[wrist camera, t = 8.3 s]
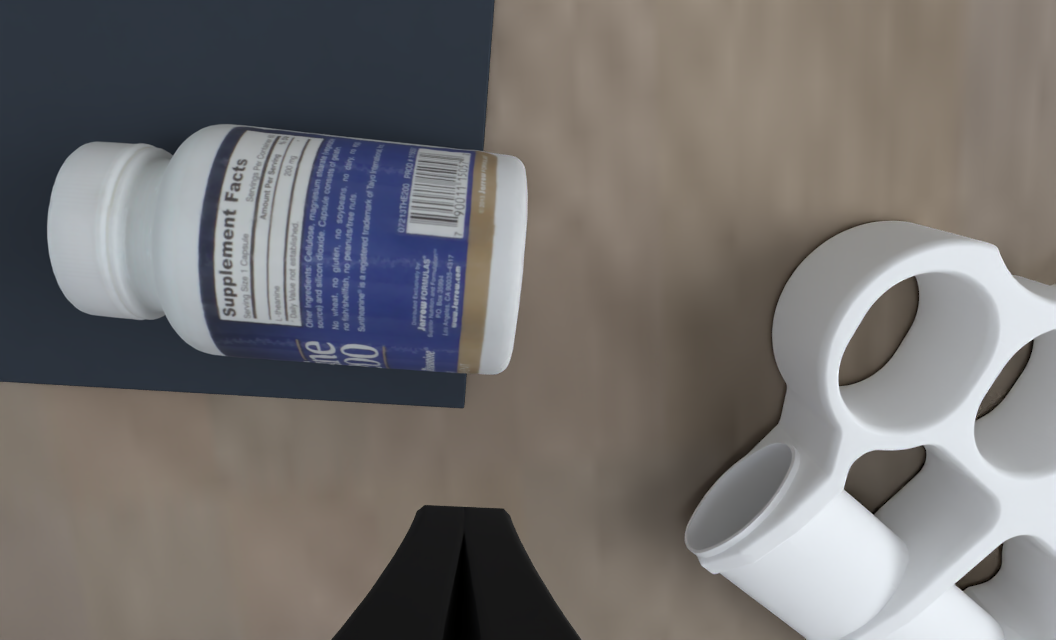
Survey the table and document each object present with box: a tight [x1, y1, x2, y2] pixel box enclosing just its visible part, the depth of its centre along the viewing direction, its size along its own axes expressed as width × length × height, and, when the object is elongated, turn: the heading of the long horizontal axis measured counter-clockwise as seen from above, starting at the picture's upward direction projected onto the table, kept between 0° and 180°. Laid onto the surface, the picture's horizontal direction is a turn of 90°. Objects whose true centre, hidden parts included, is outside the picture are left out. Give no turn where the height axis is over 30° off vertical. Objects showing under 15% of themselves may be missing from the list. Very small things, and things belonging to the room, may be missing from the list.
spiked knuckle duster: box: [685, 221, 1056, 640], centre depth 21 cm, size 3×18×15 cm
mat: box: [0, 0, 494, 408], centre depth 18 cm, size 12×20×1 cm, turn 85°
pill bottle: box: [47, 124, 528, 375], centre depth 16 cm, size 5×5×10 cm
